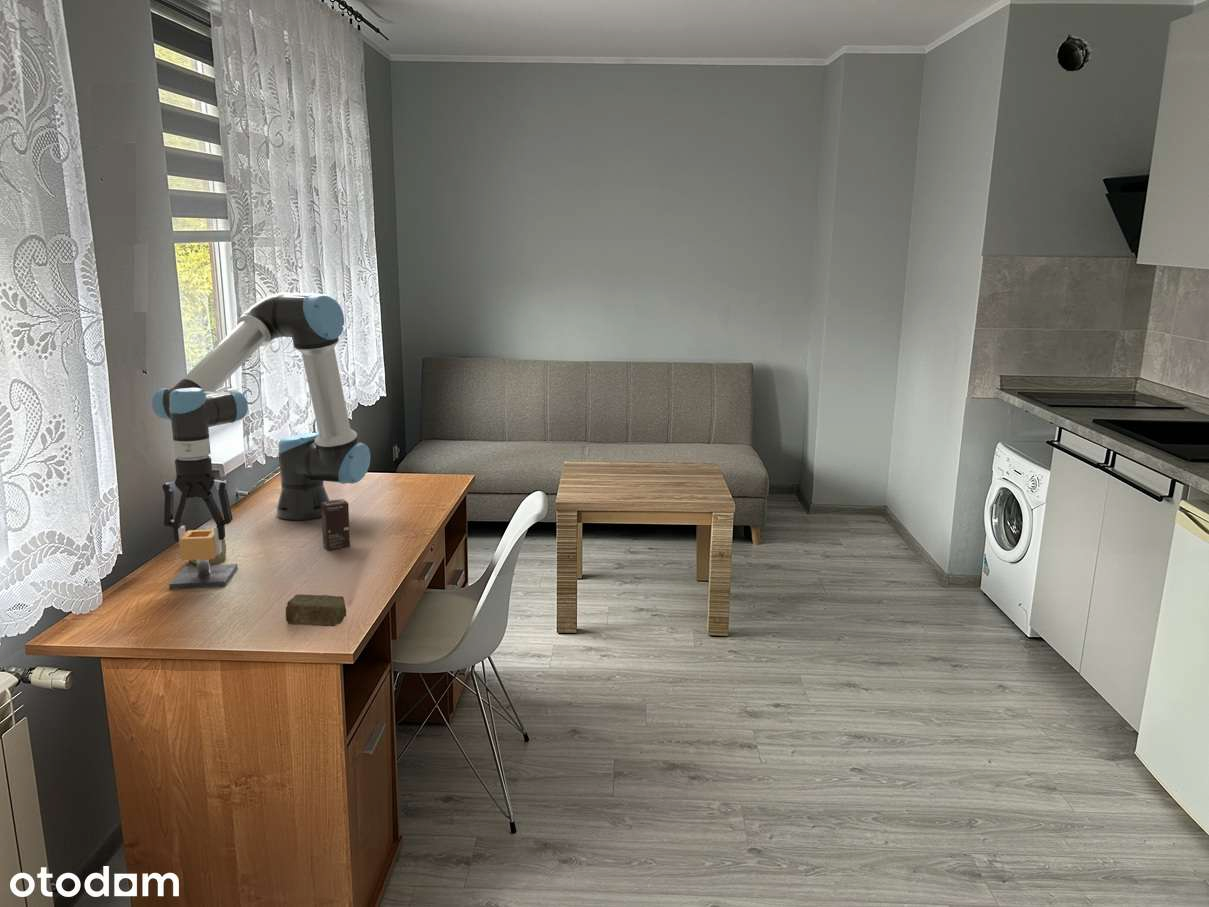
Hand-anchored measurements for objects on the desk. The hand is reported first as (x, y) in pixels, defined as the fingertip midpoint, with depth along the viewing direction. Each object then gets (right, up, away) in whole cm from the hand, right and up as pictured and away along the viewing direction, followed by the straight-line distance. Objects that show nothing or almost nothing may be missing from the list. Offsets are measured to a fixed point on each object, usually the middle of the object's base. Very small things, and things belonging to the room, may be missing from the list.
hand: (201, 553), depth 213 cm
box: (+24, -1, +25) cm, 35 cm away
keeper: (0, -6, +1) cm, 6 cm away
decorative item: (-5, -3, +15) cm, 16 cm away
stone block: (+34, -12, -22) cm, 42 cm away
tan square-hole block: (0, 0, 0) cm, 0 cm away
